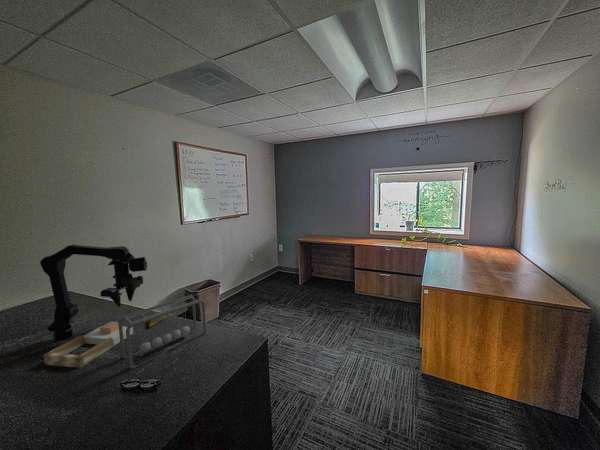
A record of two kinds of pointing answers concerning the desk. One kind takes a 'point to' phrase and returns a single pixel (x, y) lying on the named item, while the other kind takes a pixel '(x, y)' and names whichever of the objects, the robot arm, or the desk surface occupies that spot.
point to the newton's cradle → (157, 341)
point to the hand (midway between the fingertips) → (124, 303)
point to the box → (62, 357)
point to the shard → (156, 320)
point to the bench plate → (104, 336)
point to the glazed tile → (109, 327)
